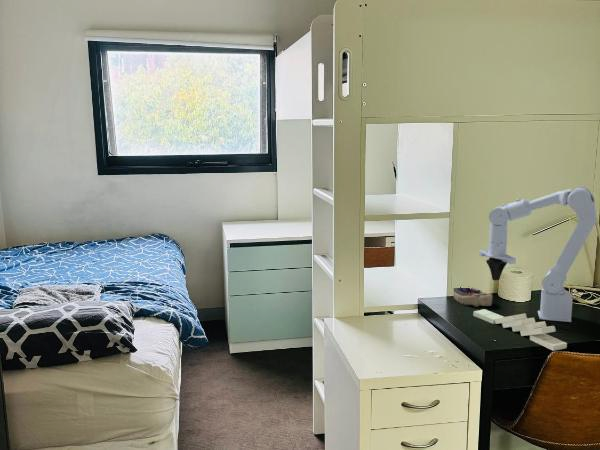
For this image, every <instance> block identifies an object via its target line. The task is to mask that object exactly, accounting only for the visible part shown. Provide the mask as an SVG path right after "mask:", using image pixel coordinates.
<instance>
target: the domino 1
mask: <svg viewBox="0 0 600 450" xmlns="http://www.w3.org/2000/svg"><path fill="white" fill-rule="evenodd" d="M472 313H473V314H472V316H474V317H475V318H478V319H481V320H483V321H485V322H486V323H487V322H488V323H490V324H493V325H496V324H495V320H494V319H497V318H502V317H504V316H503V315H501V314H498V313H495V312H493V311H490V310H488V309H486V308H485V309H484V308H482V309H480V310H479V309H478V310H474V311H473V312H472Z"/></svg>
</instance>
